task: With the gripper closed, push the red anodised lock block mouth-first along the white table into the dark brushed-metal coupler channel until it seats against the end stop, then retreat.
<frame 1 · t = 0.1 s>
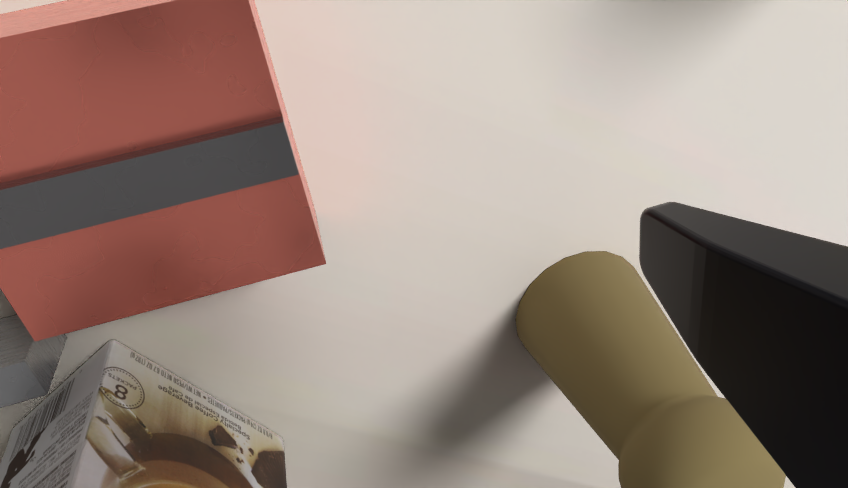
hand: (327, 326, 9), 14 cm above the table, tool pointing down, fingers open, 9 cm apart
olive tapered upright piece: (577, 305, 30), on the table
lock block: (146, 129, 21), on the table
coffee box: (156, 429, 28), on the table
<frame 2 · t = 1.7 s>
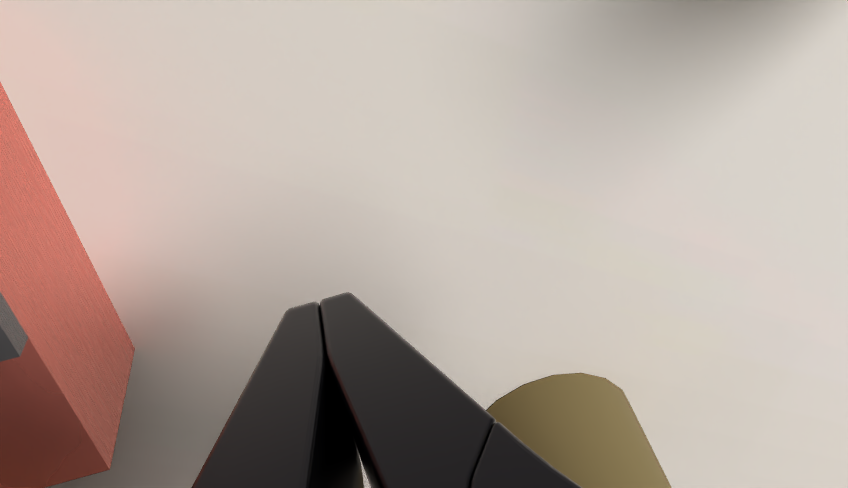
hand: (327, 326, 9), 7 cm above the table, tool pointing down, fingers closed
olive tapered upright piece: (544, 439, 22), on the table
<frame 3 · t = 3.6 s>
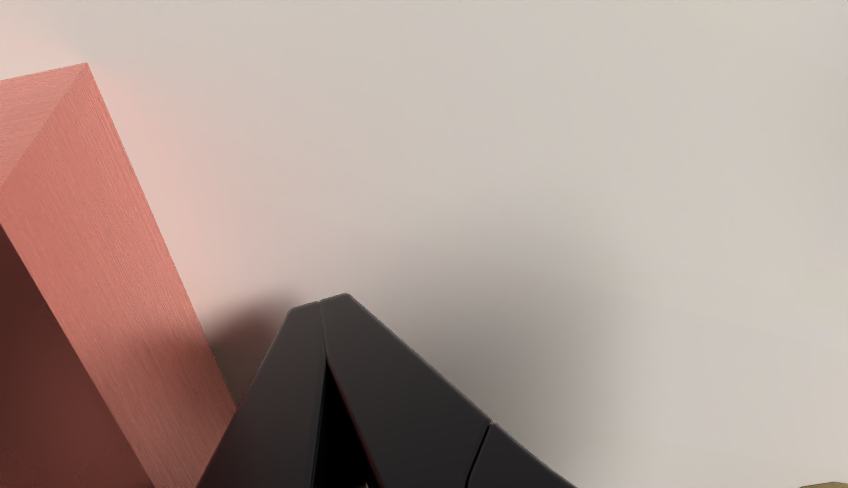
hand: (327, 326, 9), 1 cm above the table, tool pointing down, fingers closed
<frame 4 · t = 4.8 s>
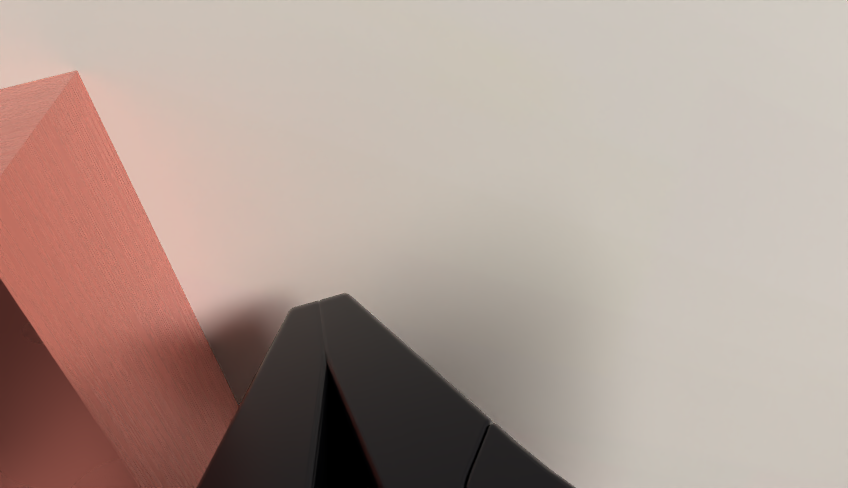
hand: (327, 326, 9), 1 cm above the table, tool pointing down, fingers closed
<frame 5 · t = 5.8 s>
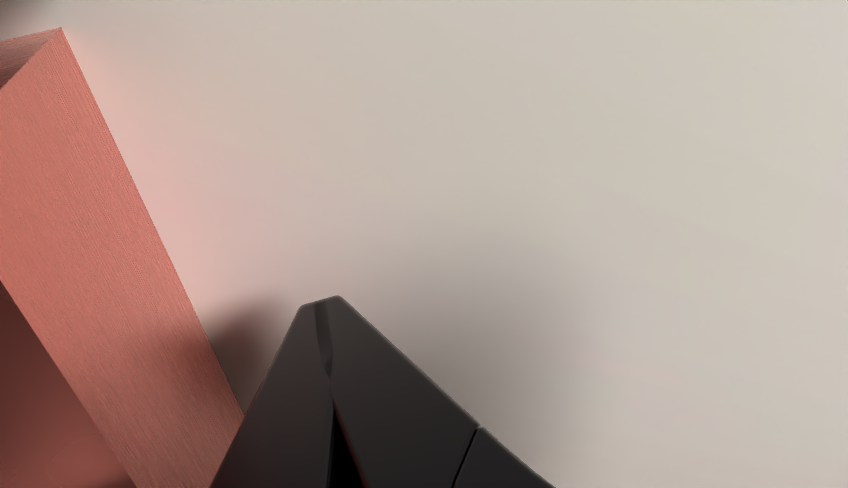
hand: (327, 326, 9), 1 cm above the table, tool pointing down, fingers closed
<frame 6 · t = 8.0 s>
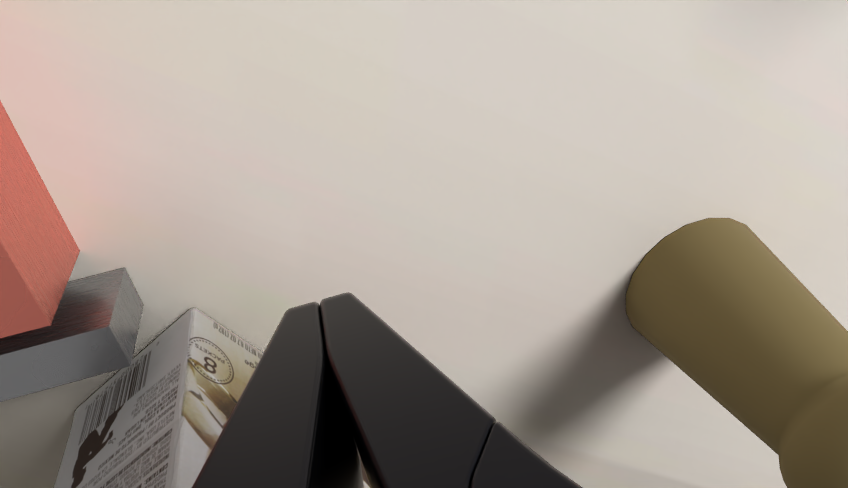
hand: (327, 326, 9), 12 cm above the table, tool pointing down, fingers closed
olive tapered upright piece: (690, 280, 27), on the table
coffee box: (231, 412, 25), on the table
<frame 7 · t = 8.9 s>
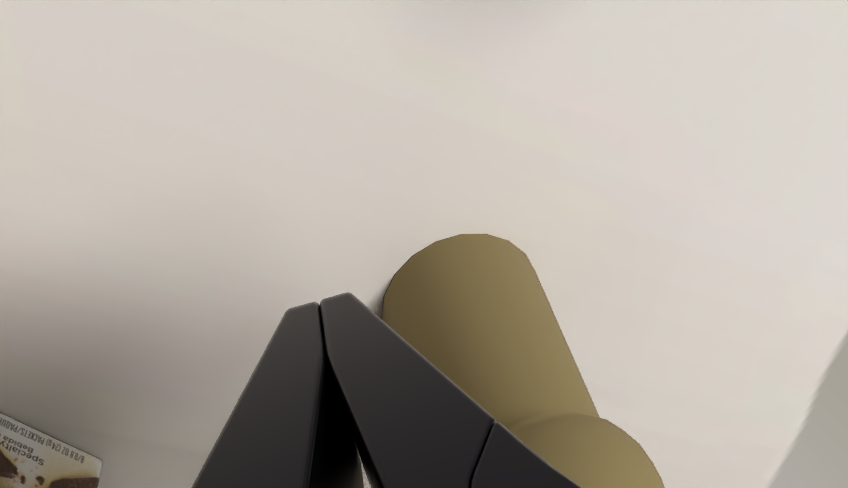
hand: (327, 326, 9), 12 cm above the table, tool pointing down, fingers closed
olive tapered upright piece: (459, 300, 25), on the table
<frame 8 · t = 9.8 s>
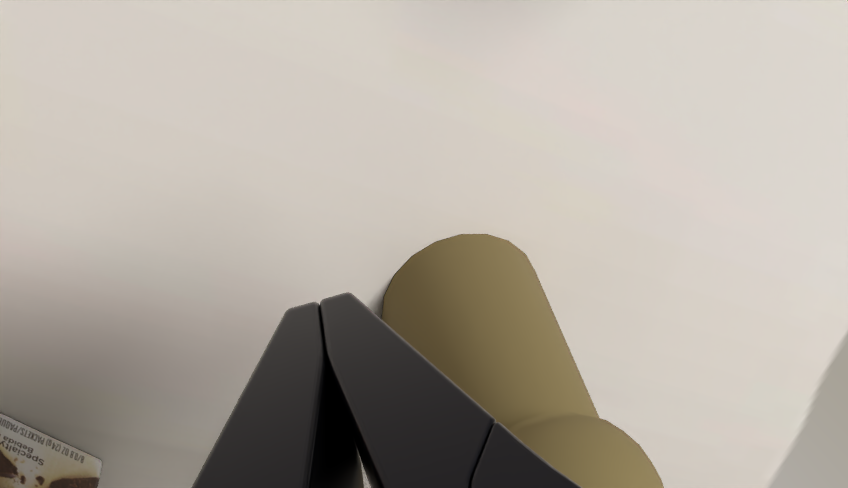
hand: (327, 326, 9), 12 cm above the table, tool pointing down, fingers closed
olive tapered upright piece: (459, 300, 25), on the table
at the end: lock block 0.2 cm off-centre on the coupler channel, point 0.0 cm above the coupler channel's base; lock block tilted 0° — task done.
